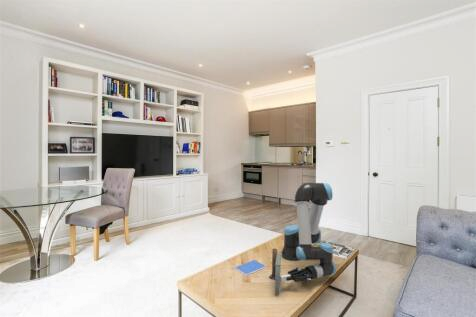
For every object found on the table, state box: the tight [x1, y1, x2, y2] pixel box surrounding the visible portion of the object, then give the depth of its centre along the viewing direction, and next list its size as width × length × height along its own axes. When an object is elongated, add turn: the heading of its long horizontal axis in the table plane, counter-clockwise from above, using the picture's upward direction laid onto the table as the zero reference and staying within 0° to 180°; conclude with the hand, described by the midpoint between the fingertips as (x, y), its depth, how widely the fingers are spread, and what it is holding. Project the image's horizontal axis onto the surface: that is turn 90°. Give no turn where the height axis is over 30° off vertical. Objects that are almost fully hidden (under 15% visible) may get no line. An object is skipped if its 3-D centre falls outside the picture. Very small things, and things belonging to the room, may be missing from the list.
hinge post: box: [268, 248, 278, 281], centre depth 152 cm, size 5×5×18 cm
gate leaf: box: [274, 252, 282, 295], centre depth 142 cm, size 20×3×16 cm, turn 167°
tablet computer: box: [234, 259, 267, 276], centre depth 165 cm, size 19×13×1 cm, turn 130°
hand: (280, 279), depth 137 cm, fingers closed
